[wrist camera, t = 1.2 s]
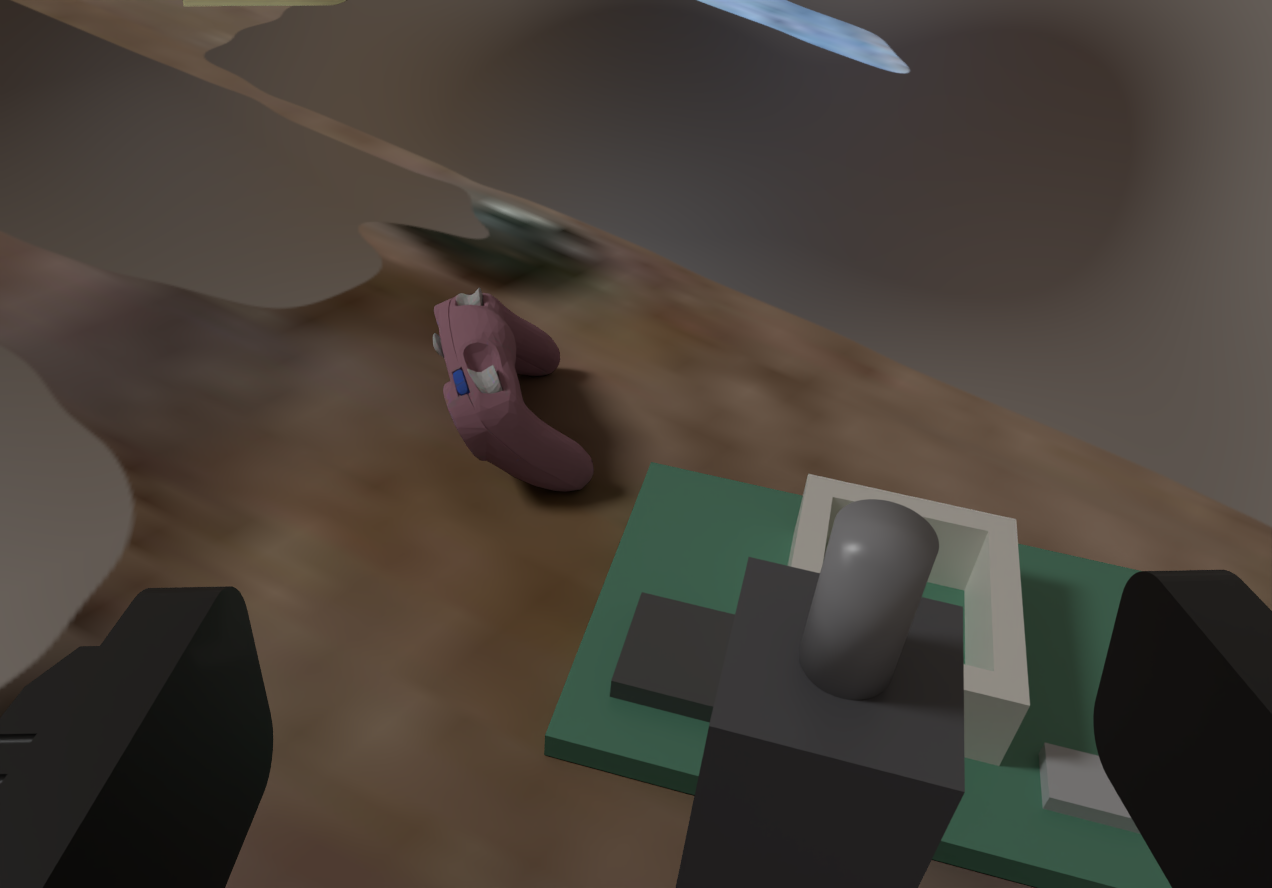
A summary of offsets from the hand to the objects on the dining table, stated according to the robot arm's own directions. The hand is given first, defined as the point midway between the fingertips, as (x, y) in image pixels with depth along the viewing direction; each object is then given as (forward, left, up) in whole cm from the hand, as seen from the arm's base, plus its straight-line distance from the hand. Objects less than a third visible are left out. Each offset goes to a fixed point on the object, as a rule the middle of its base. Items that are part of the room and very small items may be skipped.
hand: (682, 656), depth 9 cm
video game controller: (-11, +27, -20) cm, 36 cm away
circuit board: (+5, +19, -20) cm, 28 cm away
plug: (+2, +6, -20) cm, 21 cm away
